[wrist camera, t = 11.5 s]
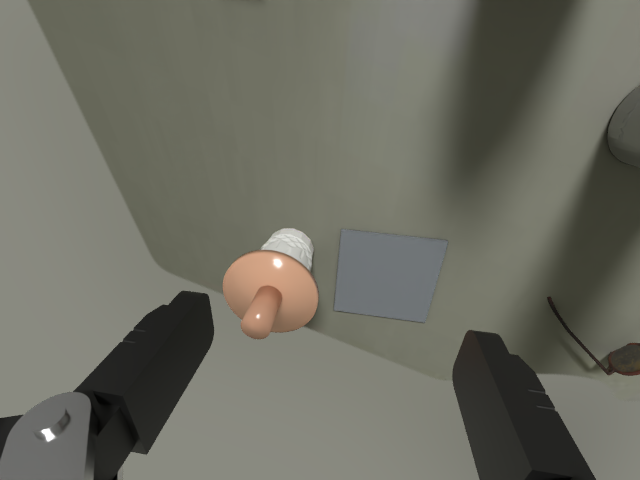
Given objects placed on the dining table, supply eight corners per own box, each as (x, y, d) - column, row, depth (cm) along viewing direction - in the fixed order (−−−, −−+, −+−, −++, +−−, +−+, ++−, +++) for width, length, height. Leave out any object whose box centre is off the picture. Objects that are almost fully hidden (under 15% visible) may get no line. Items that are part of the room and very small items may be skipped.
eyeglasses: (593, 358, 46) (617, 387, 41) (538, 299, 42) (558, 324, 38) (711, 309, 40) (754, 337, 35) (658, 235, 36) (698, 256, 32)
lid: (321, 256, 32) (312, 290, 27) (316, 332, 37) (307, 373, 32) (222, 244, 33) (194, 275, 28) (230, 319, 38) (208, 358, 33)
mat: (447, 240, 40) (448, 242, 39) (424, 320, 46) (425, 322, 46) (341, 229, 41) (341, 230, 41) (334, 308, 48) (333, 310, 47)
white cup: (299, 279, 46) (283, 326, 37) (255, 251, 45) (228, 293, 36) (328, 244, 43) (318, 287, 34) (281, 213, 41) (258, 248, 33)
